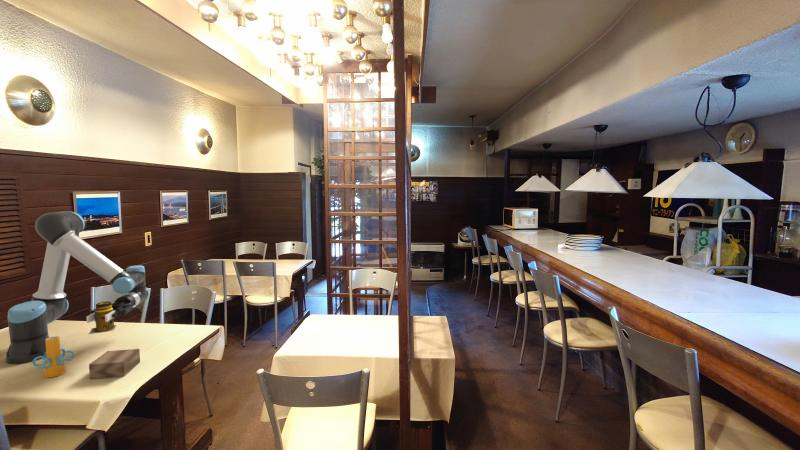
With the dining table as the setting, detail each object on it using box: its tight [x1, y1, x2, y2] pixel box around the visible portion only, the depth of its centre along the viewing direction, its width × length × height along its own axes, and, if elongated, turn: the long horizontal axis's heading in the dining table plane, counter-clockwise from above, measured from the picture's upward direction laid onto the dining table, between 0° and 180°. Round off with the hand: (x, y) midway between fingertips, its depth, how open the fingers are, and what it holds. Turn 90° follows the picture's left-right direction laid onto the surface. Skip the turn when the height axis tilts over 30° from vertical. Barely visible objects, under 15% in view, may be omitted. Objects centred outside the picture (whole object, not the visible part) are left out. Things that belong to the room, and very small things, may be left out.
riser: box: [88, 348, 141, 380], centre depth 145 cm, size 12×12×6 cm
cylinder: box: [31, 335, 76, 378], centre depth 141 cm, size 12×10×15 cm
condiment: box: [88, 300, 117, 335], centre depth 153 cm, size 7×8×12 cm
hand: (96, 319), depth 148 cm, fingers closed on condiment, 6 cm apart
